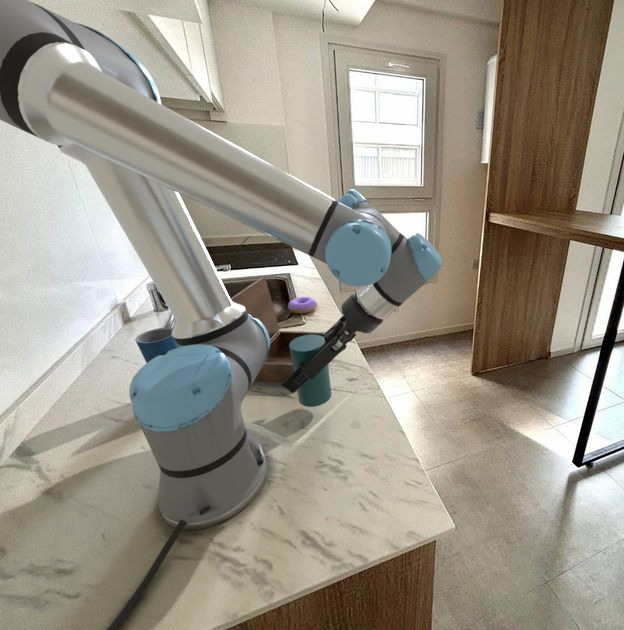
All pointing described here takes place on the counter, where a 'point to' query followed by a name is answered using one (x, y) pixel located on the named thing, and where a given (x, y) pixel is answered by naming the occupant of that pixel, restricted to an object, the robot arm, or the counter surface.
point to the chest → (280, 357)
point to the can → (318, 387)
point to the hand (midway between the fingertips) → (295, 376)
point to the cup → (156, 343)
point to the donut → (302, 305)
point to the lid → (259, 304)
